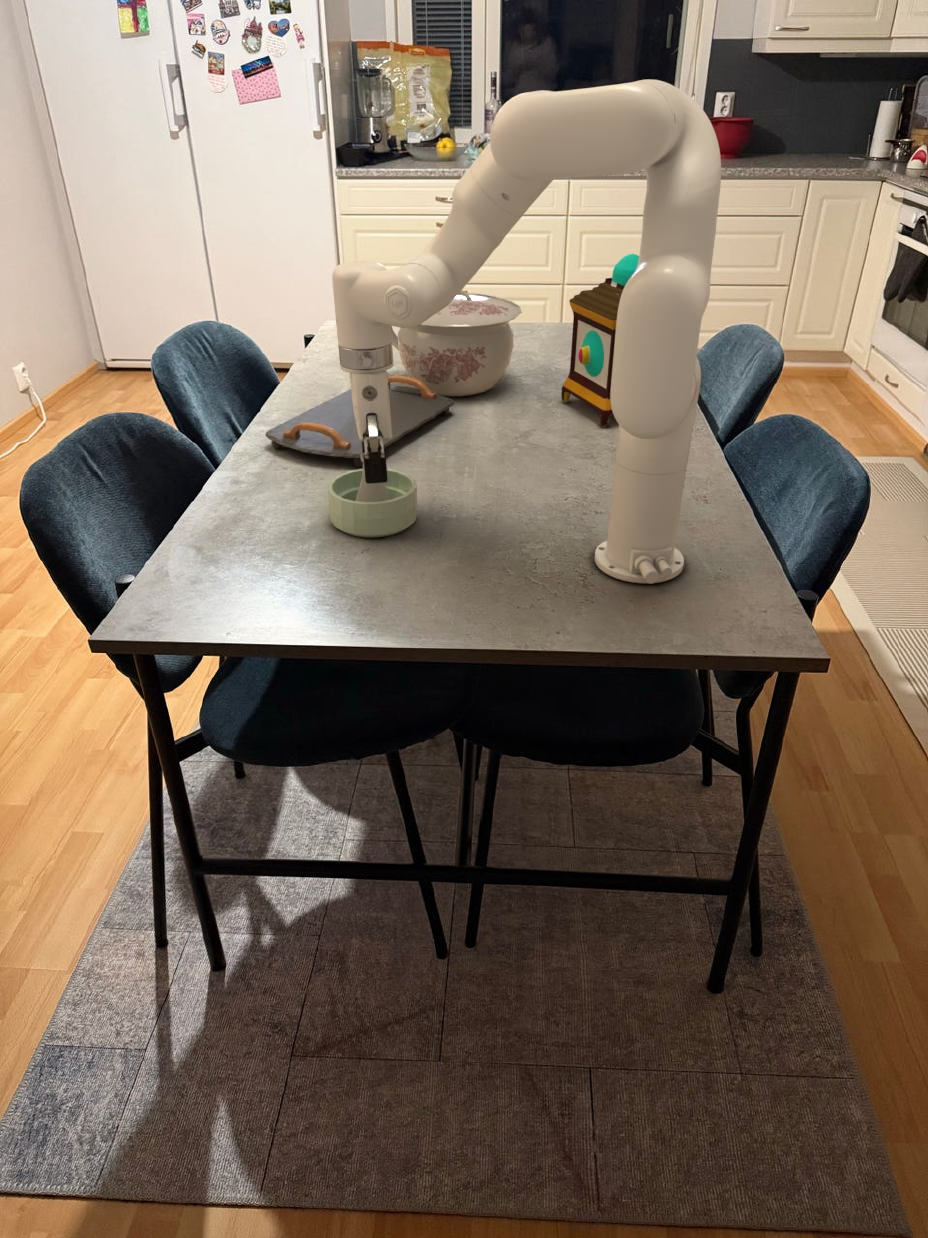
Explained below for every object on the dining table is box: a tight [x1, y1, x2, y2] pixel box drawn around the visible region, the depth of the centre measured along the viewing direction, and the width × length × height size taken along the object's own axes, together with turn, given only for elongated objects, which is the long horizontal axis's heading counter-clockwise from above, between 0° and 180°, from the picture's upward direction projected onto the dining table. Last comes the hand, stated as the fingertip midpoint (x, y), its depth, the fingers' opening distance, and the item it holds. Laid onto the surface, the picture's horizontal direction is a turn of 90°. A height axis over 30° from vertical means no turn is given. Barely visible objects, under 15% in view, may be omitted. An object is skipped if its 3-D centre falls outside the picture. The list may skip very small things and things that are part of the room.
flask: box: [355, 453, 392, 502], centre depth 138 cm, size 7×7×10 cm
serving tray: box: [265, 375, 456, 469], centre depth 173 cm, size 39×23×6 cm, turn 152°
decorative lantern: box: [560, 253, 639, 428], centre depth 177 cm, size 20×20×30 cm
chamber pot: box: [391, 289, 522, 398], centre depth 191 cm, size 28×28×21 cm
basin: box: [327, 468, 418, 538], centre depth 139 cm, size 13×13×6 cm
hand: (375, 469), depth 136 cm, fingers open, 9 cm apart
